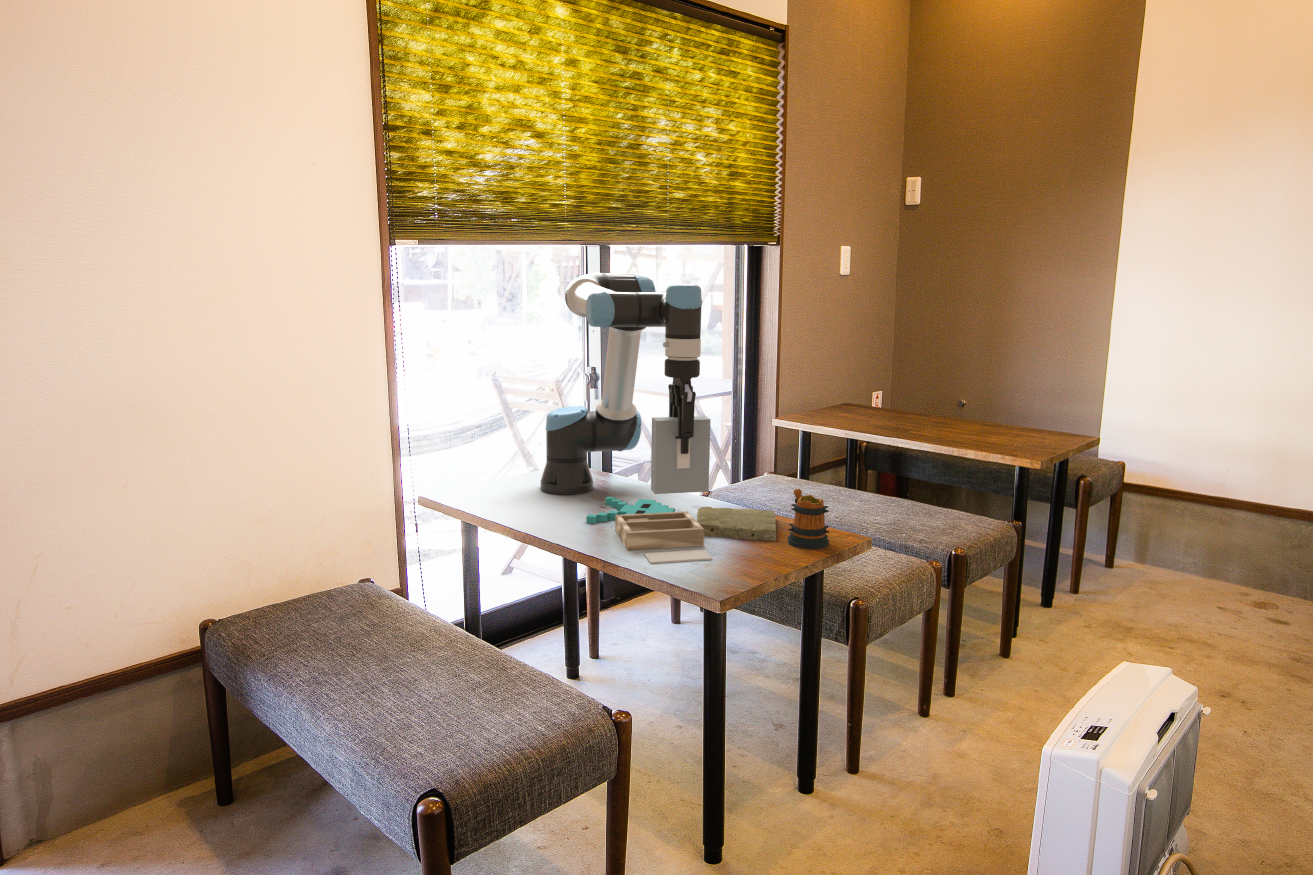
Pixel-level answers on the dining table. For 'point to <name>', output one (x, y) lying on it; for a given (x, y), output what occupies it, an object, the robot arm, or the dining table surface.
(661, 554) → the felt mat
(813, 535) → the mug
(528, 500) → the dining table surface
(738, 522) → the decorative tile
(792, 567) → the dining table surface
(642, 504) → the alien figure
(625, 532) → the rack
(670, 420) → the slate board
